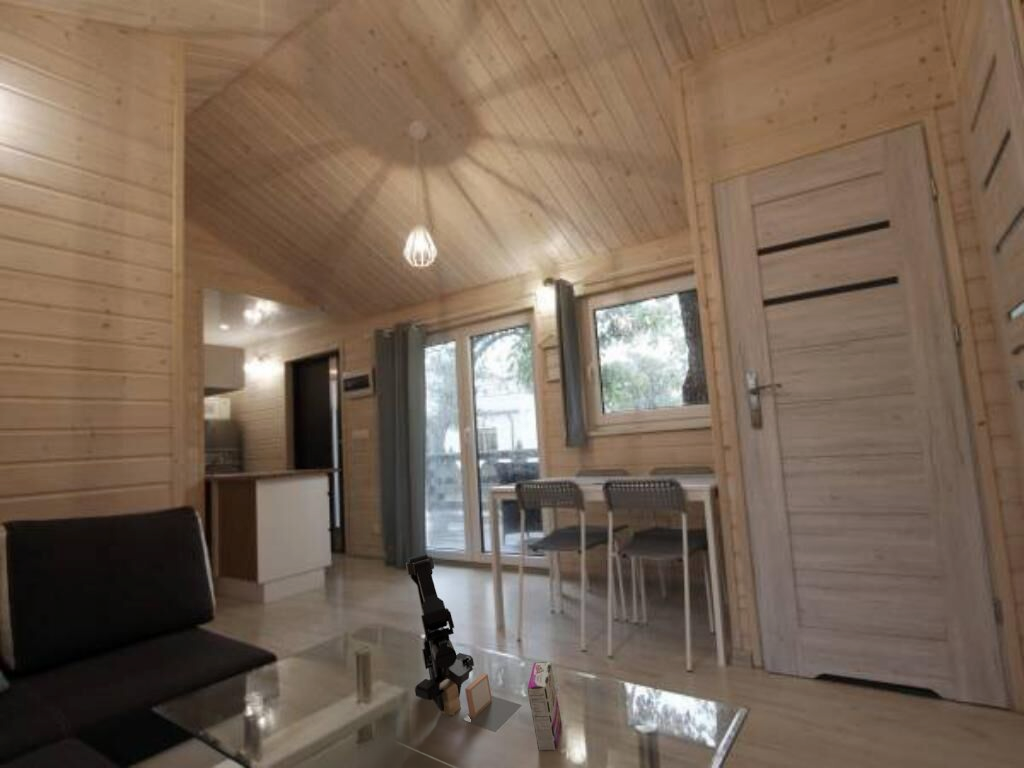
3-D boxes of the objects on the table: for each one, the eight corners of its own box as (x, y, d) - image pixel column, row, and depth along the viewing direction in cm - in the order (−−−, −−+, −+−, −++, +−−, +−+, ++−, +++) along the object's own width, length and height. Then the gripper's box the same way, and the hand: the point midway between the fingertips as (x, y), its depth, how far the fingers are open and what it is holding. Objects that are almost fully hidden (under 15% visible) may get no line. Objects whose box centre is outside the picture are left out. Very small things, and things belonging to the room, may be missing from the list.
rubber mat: (462, 720, 152) (461, 719, 152) (489, 695, 162) (489, 694, 162) (495, 732, 145) (495, 731, 145) (521, 706, 154) (521, 704, 154)
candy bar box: (543, 721, 146) (533, 661, 146) (561, 721, 145) (551, 660, 145) (537, 751, 135) (526, 687, 135) (557, 751, 134) (546, 686, 134)
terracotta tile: (469, 716, 153) (465, 688, 153) (487, 699, 159) (483, 673, 159) (474, 718, 152) (469, 690, 152) (492, 701, 158) (487, 674, 158)
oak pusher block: (441, 713, 157) (436, 686, 157) (451, 705, 160) (446, 678, 160) (451, 717, 155) (446, 689, 154) (461, 708, 158) (456, 681, 157)
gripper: (438, 675, 144) (447, 732, 145) (483, 639, 159) (492, 692, 160) (409, 666, 151) (418, 721, 152) (455, 633, 166) (463, 683, 167)
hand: (450, 704), depth 157 cm, fingers open, 6 cm apart
